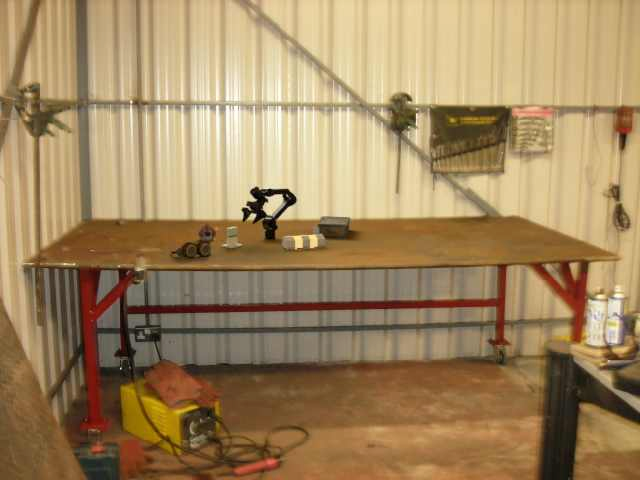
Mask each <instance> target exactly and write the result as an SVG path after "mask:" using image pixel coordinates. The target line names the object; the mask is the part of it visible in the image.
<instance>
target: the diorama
mask: <svg viewBox="0 0 640 480" xmlns="http://www.w3.org/2000/svg"><path fill="white" fill-rule="evenodd" d="M312 230H313V231H312V232H311V233H312V234H309V235H308V234H299V235H284V236H282V238H281V239H282V240H281V242H282V244H281V245H282V248H283V247H284V248H283V249H285V248H286V249H285V250H287V249H291V250H298V249H297V248H305V249H315V248H314V247H320V248H325V245H326V238H325V237H324V236H323V235H322V234H320V233H319V232H320V231H319V228H318V226H316V227H313V228H312Z"/></svg>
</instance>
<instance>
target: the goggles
mask: <svg viewBox="0 0 640 480" xmlns="http://www.w3.org/2000/svg"><path fill="white" fill-rule="evenodd" d="M211 249H212V247H211V241H202V240H201V241H199V242H197V243H194V242H191V241H189V242H186V243H184V244H183V245H181V246H180V247H179V248H177V249H176V250H175V251H171V252H170V254H171V253H172V254H171V255H175V254H176V255H177V256H178V257H181V258H183V257H192V258H194V257H196V256H197V255H198V256H200V257H206V256H209V255H210V256H211V254H212V252H211Z"/></svg>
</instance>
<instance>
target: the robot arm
mask: <svg viewBox="0 0 640 480" xmlns="http://www.w3.org/2000/svg"><path fill="white" fill-rule="evenodd" d="M249 194H250V196H251V197H252V198H253V199H254V201H250V200H247V201H246V204H245V206H246V207H245V206H244V207H242V208H241V210H240V211H241V213H242V214H243V215H242V221H241V222H242V223H245V222H246V221H247V220H248V219H249V218H250V216H251V215H252V214H253V215H255V217H254V219H253V220H252V225H254V224H257V223H258V222H260V221H261V225H262V228H263V230H264V238H265V240H276V231H277V230H278V229H279V227H278V225H277V220H278V219H279V218H280V217H281V216H282V215H283V214H284V212H286V211H287V209H289V208H290V207H293V206H294V205H296V203H297V201H298V199H297V196H296V195H295V194H294V193H293V192H292V191H290V189H289V188H286V187H282V188H269V187H261V189H260V188H259V186H254V187H253V188H251V189H250V190H249ZM276 195H278V196H279V195H282V198H283V199H282V203H281V204H280V205H279V206H278V207H277V208H276V209H275V210H274V212H272V214H271V215H270V214H267V213H266V211H265V210H264V205H266V204H265V203H269V198H271V197H273V196H276Z"/></svg>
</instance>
